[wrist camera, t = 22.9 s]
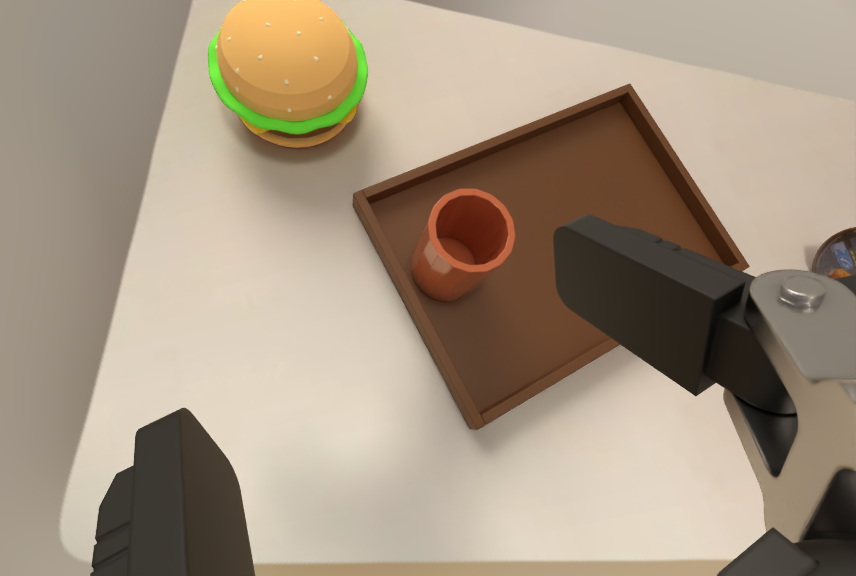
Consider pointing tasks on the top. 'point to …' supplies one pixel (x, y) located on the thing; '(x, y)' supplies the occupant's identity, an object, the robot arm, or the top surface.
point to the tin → (837, 255)
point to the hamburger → (288, 70)
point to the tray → (537, 241)
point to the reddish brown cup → (461, 244)
